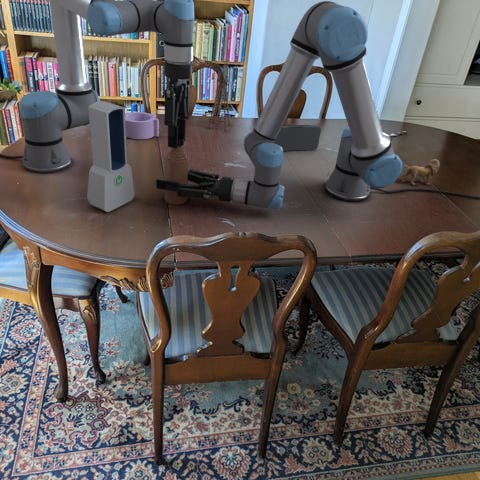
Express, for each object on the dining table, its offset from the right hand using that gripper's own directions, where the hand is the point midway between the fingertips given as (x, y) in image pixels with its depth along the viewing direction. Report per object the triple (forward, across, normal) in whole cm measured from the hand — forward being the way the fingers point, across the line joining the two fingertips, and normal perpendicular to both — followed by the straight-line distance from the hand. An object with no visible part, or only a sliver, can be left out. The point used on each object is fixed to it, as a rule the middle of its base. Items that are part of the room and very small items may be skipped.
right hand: (160, 178), depth 144 cm
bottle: (-5, 0, -6) cm, 8 cm away
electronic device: (+12, -9, -6) cm, 17 cm away
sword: (-79, +89, -6) cm, 119 cm away
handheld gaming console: (-37, +57, -6) cm, 68 cm away
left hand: (-5, 0, +12) cm, 13 cm away
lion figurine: (-86, +43, -6) cm, 96 cm away
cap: (-5, 0, +14) cm, 15 cm away
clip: (+27, +47, -6) cm, 55 cm away
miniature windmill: (-3, +71, -6) cm, 71 cm away
